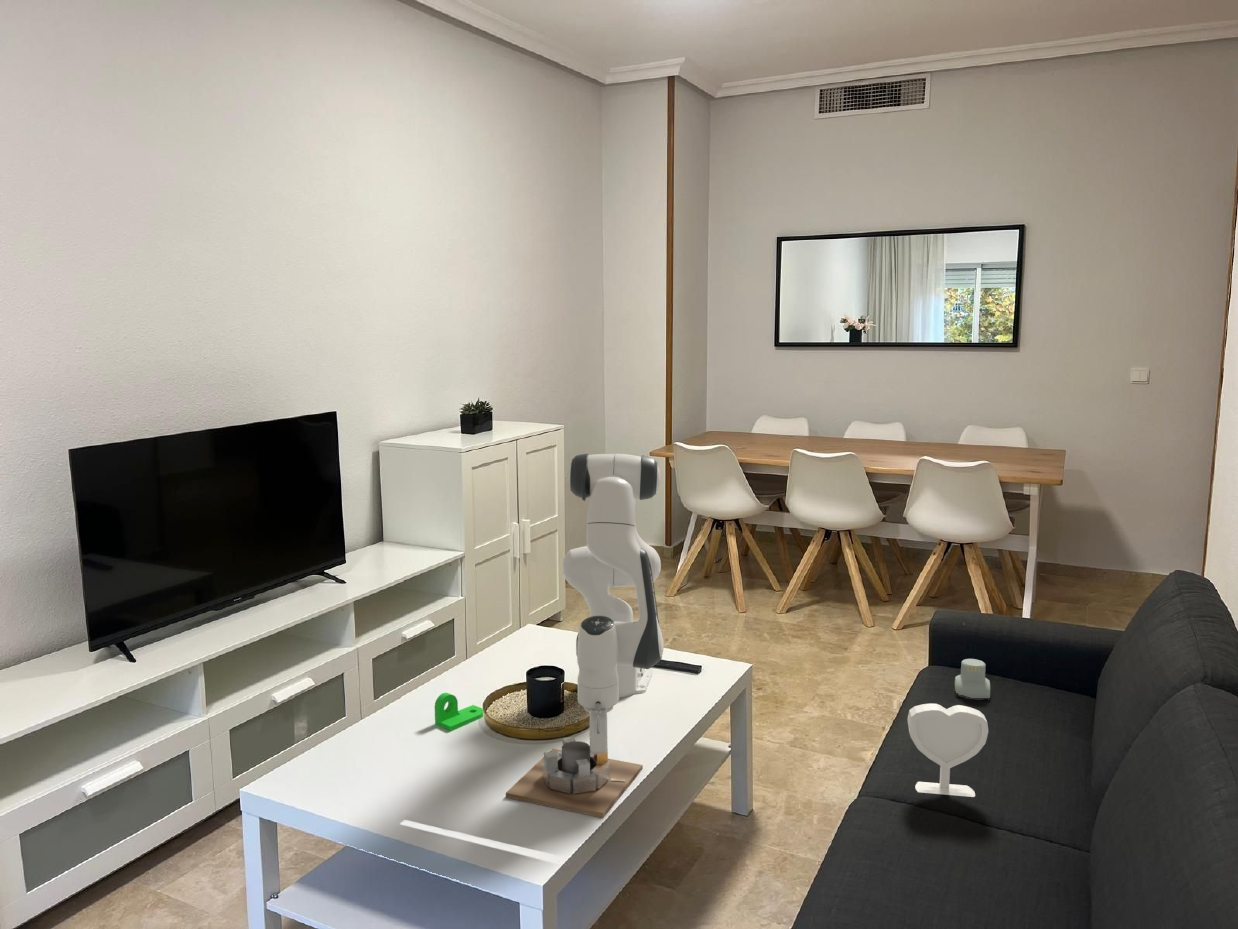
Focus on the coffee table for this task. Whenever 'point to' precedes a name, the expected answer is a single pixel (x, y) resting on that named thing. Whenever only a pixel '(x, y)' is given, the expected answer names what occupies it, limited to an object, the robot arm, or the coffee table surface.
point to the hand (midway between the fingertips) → (599, 753)
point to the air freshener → (972, 680)
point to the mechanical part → (454, 713)
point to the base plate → (585, 802)
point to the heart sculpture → (947, 741)
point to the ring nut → (582, 778)
